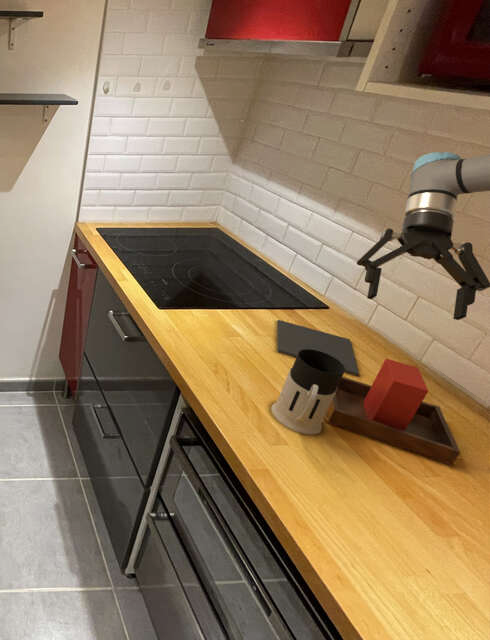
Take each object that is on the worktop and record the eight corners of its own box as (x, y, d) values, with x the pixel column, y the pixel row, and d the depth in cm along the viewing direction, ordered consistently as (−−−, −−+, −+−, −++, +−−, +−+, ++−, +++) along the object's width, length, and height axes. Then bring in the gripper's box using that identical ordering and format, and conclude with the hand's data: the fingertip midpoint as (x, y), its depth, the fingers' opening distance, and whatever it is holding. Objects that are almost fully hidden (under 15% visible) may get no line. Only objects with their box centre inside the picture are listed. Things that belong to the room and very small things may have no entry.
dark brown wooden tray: (431, 419, 94) (439, 406, 93) (451, 466, 84) (460, 452, 82) (322, 384, 103) (328, 372, 102) (327, 422, 93) (334, 409, 91)
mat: (348, 341, 118) (350, 339, 118) (357, 376, 106) (358, 373, 106) (277, 321, 126) (278, 319, 126) (277, 351, 114) (278, 349, 113)
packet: (393, 411, 95) (418, 367, 90) (401, 437, 89) (428, 391, 84) (363, 402, 97) (385, 358, 92) (369, 426, 91) (393, 380, 86)
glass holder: (322, 415, 94) (349, 359, 88) (318, 459, 84) (348, 399, 78) (274, 396, 99) (296, 341, 93) (264, 435, 89) (288, 377, 83)
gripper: (498, 238, 95) (488, 331, 89) (350, 213, 107) (333, 294, 102) (523, 223, 88) (513, 322, 83) (362, 198, 101) (344, 283, 95)
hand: (414, 307), depth 92 cm, fingers open, 13 cm apart
